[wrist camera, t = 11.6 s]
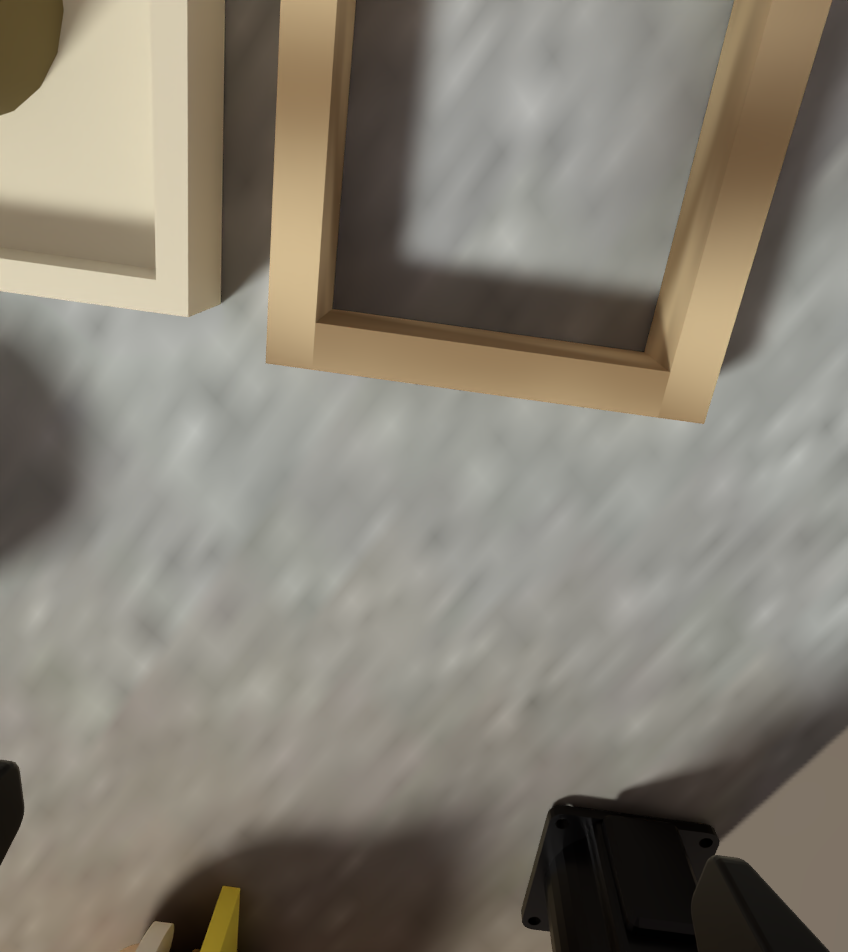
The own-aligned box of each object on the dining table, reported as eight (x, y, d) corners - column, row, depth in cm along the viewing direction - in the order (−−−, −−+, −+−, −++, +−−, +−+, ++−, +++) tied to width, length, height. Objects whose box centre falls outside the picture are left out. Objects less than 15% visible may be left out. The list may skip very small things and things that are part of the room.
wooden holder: (674, 398, 20) (703, 423, 17) (288, 344, 19) (265, 363, 17) (809, -81, 15) (872, -133, 13) (315, -153, 15) (289, -218, 13)
